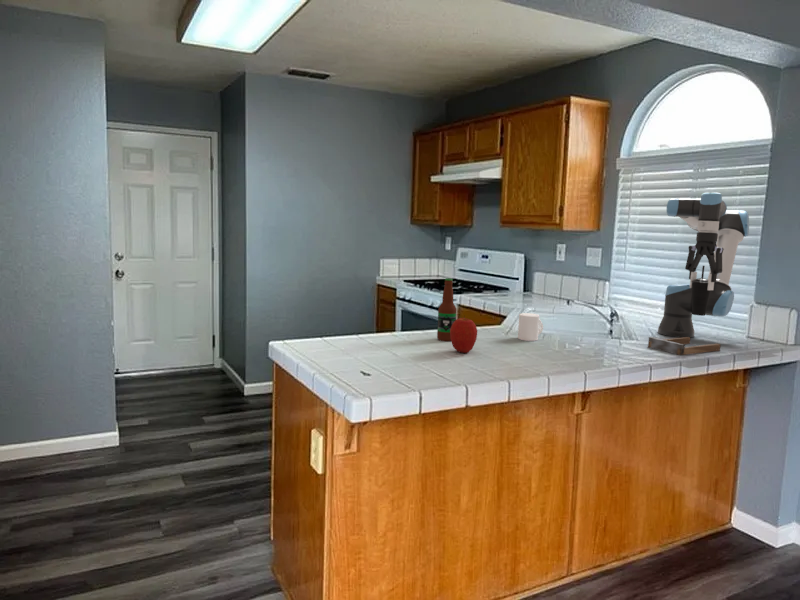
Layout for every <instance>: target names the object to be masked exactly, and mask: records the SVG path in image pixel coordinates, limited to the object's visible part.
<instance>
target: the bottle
mask: <svg viewBox="0 0 800 600" xmlns="http://www.w3.org/2000/svg"><path fill="white" fill-rule="evenodd" d="M453 280H454V279H453V278H448V277H447V278H445V279H444V283H443V284H444V287H443V288H444V289H443V291H442V292H443V293H442V302H441V303H440V304H439V307H438V309H437V312H438V313H437V331H436V332H437V333H436V334H437V335H436V337H437V339H438V341H440V340H441V341H442V342H451V339H450V329H451V326H452V324H453V322H455V321H456V320H457V307H456V305H455V303H454V288H453Z"/></svg>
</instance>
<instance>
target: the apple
mask: <svg viewBox="0 0 800 600" xmlns="http://www.w3.org/2000/svg"><path fill="white" fill-rule="evenodd" d="M477 337H478V327H477V325H476V324H475V322H474V321H473V320H472V319H469V318H466V315H464V317H459V318H456V321H455V322H453V324H452V326H451V329H450V339H451V341H450V342H451V344H452V347H453V348H454V349H455V351H457V352H458V353H466V354H467V353H469V352H471V350H473V348H474V346H475V344H476V341H477V339H478V338H477Z"/></svg>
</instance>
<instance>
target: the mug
mask: <svg viewBox="0 0 800 600" xmlns="http://www.w3.org/2000/svg"><path fill="white" fill-rule="evenodd" d="M517 329H518V331H517V339H518V340H520V341H521V340H522V341H527V342H528V341H529V342H534V341H538V339H539V335H541V333H542V332H543V330H544V324H543V322H542V320H541V319H540V314H538V313H531V312H530V313H529V312H528V313H527V312H523V313H519V314H518V328H517Z"/></svg>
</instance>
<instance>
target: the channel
mask: <svg viewBox="0 0 800 600" xmlns="http://www.w3.org/2000/svg"><path fill="white" fill-rule="evenodd" d="M690 343H691V337H673V338H665V339H662V338H657V337H654V336H649V337H648V343H647V347H648V348H650V347H651V348H650V349H654V348H655V350H658V349H659V350H658V351H663V352H666V353H671V354H675V355H678V356H684V355H692V354H693V355H694V354H700V353H701V354H702V353H709V352H719V351H721V343H710V344H701V345H692V346H685V345H687V344H690Z"/></svg>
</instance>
